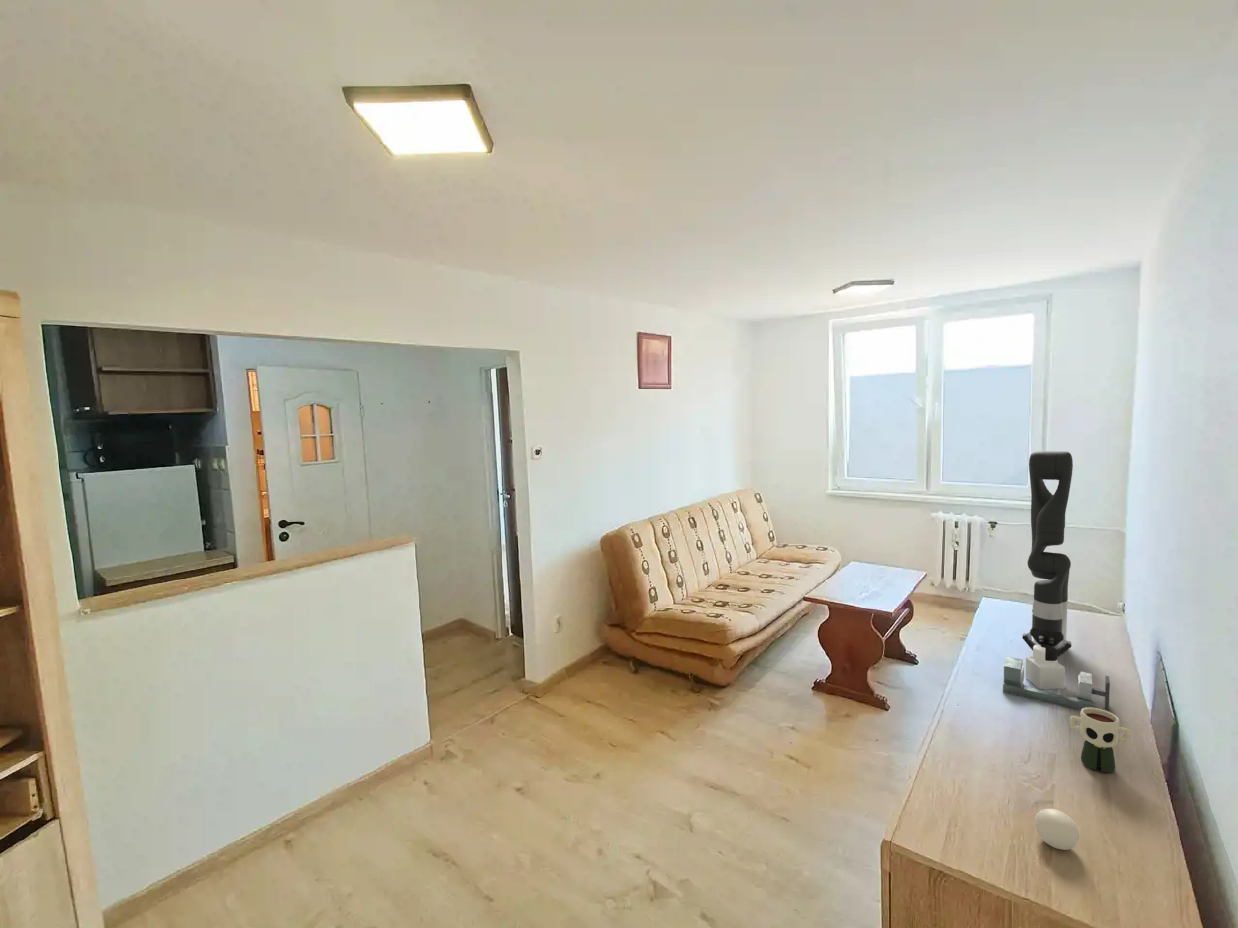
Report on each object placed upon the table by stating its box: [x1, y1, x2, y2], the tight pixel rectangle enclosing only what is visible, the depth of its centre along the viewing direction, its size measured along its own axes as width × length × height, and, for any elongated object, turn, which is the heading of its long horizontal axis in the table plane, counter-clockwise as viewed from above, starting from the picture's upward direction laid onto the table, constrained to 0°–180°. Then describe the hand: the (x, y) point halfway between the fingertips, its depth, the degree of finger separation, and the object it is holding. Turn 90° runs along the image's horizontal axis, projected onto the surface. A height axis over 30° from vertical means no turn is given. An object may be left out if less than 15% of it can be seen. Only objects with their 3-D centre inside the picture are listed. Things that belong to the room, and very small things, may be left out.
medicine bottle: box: [1025, 644, 1066, 690], centre depth 172 cm, size 7×7×12 cm
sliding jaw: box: [1077, 671, 1111, 712], centre depth 160 cm, size 8×7×8 cm
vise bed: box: [1002, 656, 1097, 712], centre depth 166 cm, size 10×22×8 cm, turn 50°
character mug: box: [1069, 707, 1131, 773], centre depth 133 cm, size 11×7×13 cm, turn 52°
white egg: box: [1034, 808, 1080, 851], centre depth 112 cm, size 7×7×7 cm
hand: (1045, 666), depth 177 cm, fingers closed
